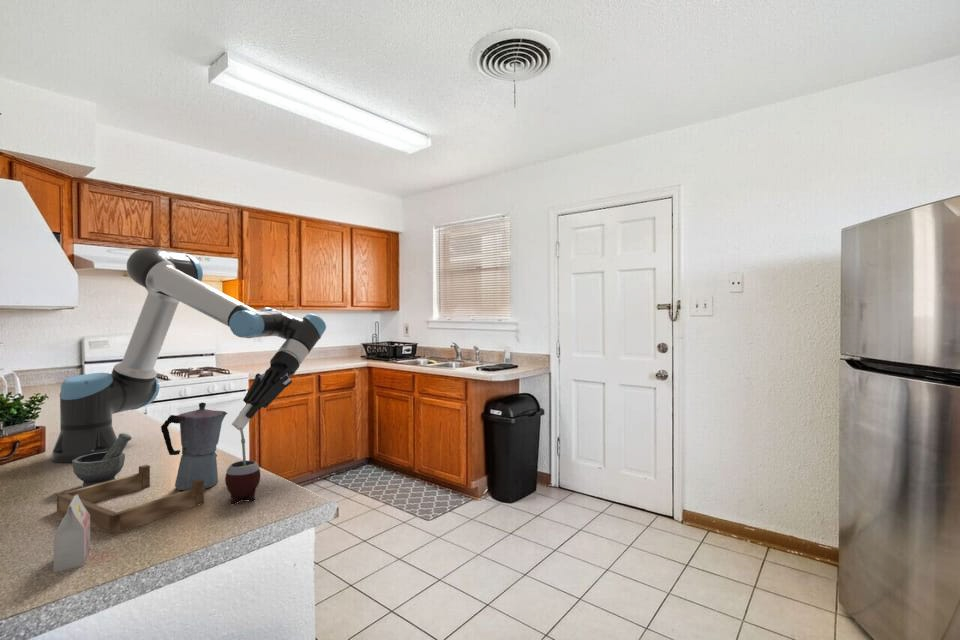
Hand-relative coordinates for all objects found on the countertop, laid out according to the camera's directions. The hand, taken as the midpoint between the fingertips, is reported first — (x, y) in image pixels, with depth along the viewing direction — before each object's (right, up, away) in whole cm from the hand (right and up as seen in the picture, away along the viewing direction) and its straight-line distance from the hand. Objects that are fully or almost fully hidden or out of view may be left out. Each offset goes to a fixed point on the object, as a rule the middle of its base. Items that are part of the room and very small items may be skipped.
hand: (236, 427), depth 122 cm
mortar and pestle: (-28, -12, -8) cm, 32 cm away
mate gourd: (+10, -13, -17) cm, 23 cm away
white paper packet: (-5, -13, -43) cm, 45 cm away
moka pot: (-5, -12, -9) cm, 16 cm away
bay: (-11, -12, -22) cm, 27 cm away
